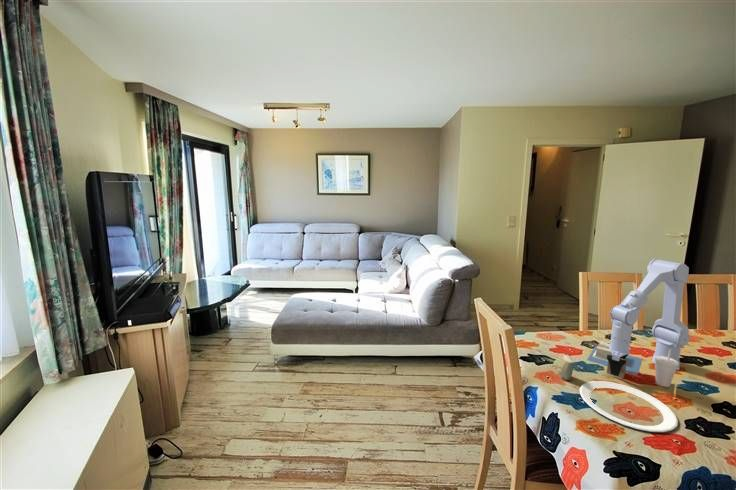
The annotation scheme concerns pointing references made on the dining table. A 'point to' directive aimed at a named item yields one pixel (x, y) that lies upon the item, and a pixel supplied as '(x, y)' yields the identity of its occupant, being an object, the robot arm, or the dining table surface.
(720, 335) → the dining table surface
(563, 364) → the grey small block
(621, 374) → the walnut block
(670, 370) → the smoothie
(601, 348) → the birch block
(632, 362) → the board
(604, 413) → the white flat ring
